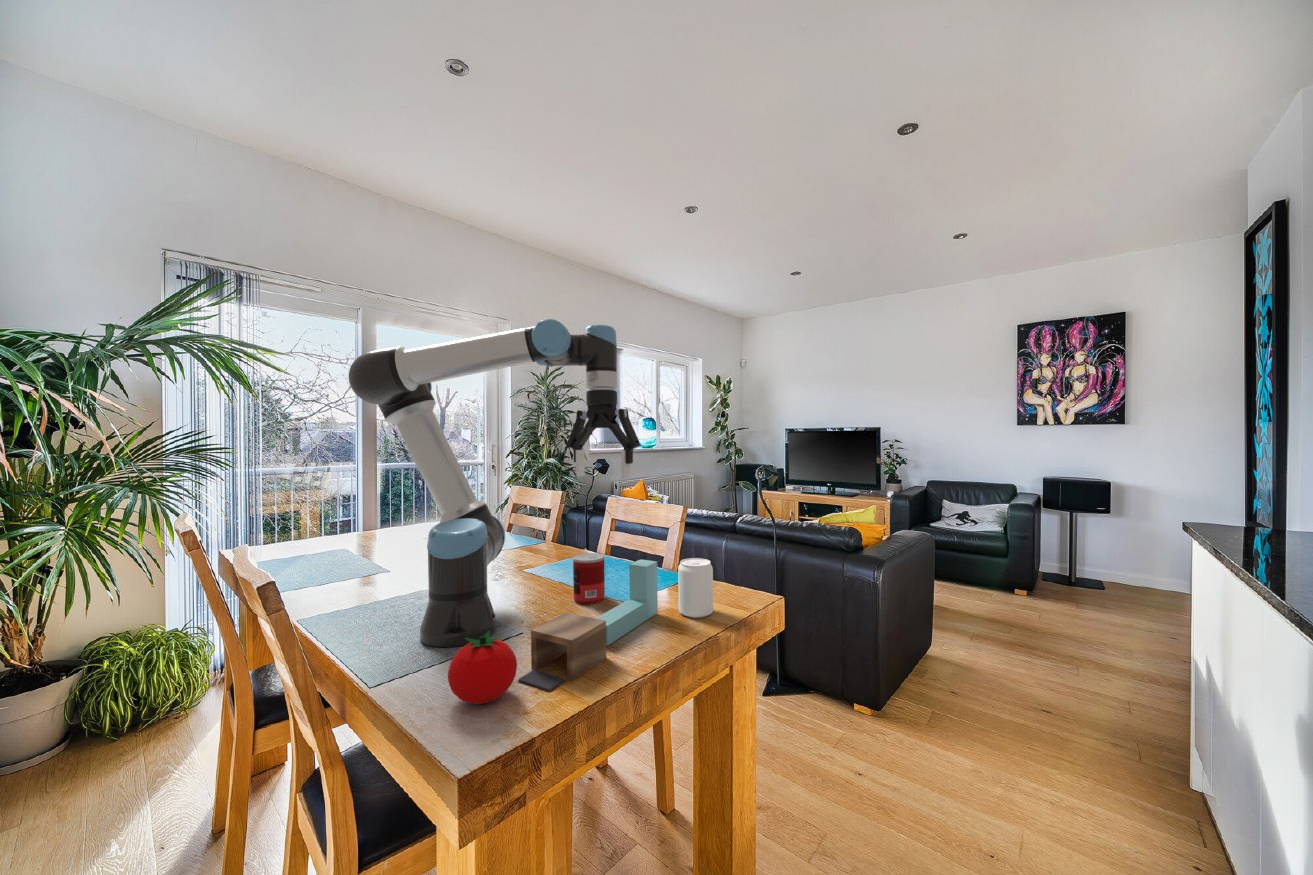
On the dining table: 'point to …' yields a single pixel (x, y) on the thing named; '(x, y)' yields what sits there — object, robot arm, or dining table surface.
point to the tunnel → (569, 643)
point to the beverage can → (695, 587)
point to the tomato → (482, 670)
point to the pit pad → (541, 680)
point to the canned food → (589, 578)
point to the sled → (634, 601)
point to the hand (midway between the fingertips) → (602, 476)
